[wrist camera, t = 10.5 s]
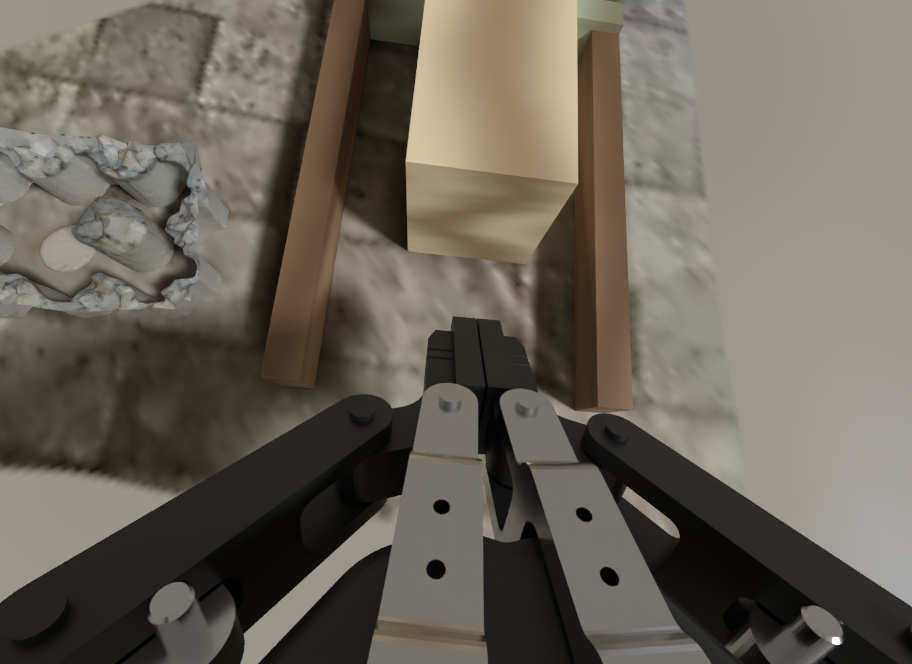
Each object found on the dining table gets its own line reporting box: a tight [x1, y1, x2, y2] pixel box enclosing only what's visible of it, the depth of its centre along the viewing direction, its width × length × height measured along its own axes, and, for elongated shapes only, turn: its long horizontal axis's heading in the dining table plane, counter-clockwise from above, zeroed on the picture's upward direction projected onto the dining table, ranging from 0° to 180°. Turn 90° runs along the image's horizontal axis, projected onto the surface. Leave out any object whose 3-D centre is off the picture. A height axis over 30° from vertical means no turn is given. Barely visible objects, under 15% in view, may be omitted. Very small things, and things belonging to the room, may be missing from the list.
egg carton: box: [0, 127, 229, 318], centre depth 17 cm, size 11×8×4 cm
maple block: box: [406, 0, 578, 264], centre depth 19 cm, size 6×12×7 cm, turn 176°
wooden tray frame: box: [259, 0, 633, 413], centre depth 20 cm, size 15×22×3 cm
